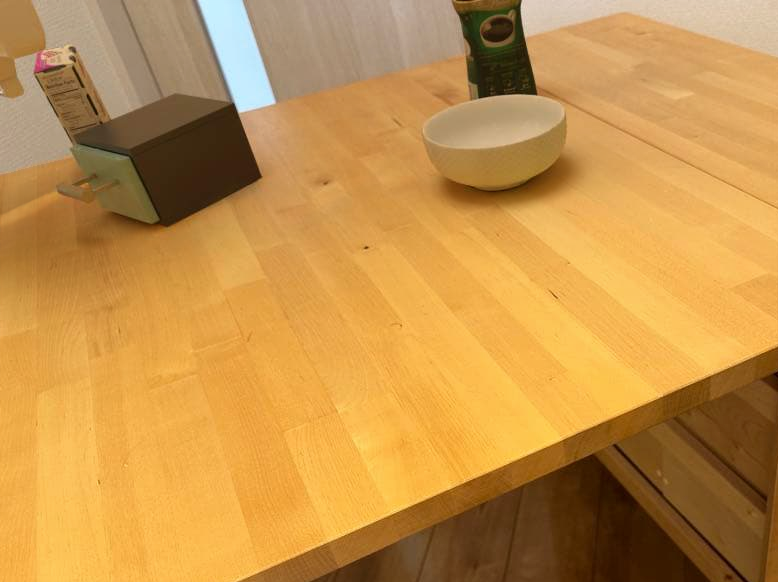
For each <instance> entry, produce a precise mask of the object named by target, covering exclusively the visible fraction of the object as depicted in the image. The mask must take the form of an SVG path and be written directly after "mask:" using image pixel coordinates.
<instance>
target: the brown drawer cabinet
mask: <svg viewBox="0 0 778 582" xmlns="http://www.w3.org/2000/svg"><path fill="white" fill-rule="evenodd" d="M237 109H238V108H237V106H236V103H235V102H232V101H226V100H219V99H213V98H208V97H202V96H196V95H195V96H194V95H188V94H183V93H173V94H169V95H168V96H165V97H163V98H159V99H158V100H155V101H153V102H151V103H148V104H147V105H146V104H145V105H143V106H141V107H139V108H136V109H134V110H131V111H129V112H127V113H124V114H122V115H119V116H117V117H114V118H111V120H109V121H107V122H104V123H102V124H100V125H97V126H95V127H92V128H90V129H87V130H85V131H83V132H80V133H78V134H75V135H73V137H74V139H75V141H76V143H77V144H79V145H83V146H87V147H91V148H95V149H96V148H100V149H104V150H108V151H112V152H116V153H121V154H125V155H129V157H130V159H131V161H132V163H133V165H134V167H135V169H136V171H137V173H138V176H139V178H140V180H141V182H142V184H143V186H144V188H145V190H146V192H147V194H148V196H149V198H150V200H151V202H152V204H153V206H154V209H155V211H156V213H157V215H158V217H159V219H160V220H159V221H157V222H155V223H154V225H155V224H156V225H159V226H161V227H165V228H168V227H171V226H173V225H174V224H176V223H178V222H180V221H181V220H183V219H186V218H187V217H189V216H191V215H193V214H195V213H197V212H199V211H201V210H202V209H205V208H206V207H208V206H210V205H212V204H214V203H216V202H218V201H219V200H221V199H223V198H225V197H227V196H229V195H231V194H234V193H236V192H237V191H239V190H241V189H243V188H245V187H246V186H248V185H250V184H252V183H254V182H256V181H258V180H260V179H262V178H263V177H262V173H261V170H260V168H259V164H258V162H257V159H256V157H255V154H254V152H253V149H252V146H251V144H250V141H249V138H248V136H247V133H246V130H245V127H244V126H243V125H244V124H243V123H242V122H243V121H242V119H241V117H240V115H239V112H238V110H237Z"/></svg>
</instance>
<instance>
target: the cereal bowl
mask: <svg viewBox="0 0 778 582" xmlns="http://www.w3.org/2000/svg"><path fill="white" fill-rule="evenodd" d="M567 121H568V120H567V113H566V110H565V107H564V105H562V103H560V102H559V101H557V100H555V99H553V98H549V97H547V96H543V95H542V96H541V95H537V96H536V95H503V96H494V97H487V98H481V99H476V100H472V101H471V100H468V101H464V102H461V103H458V104H454V105H452V106H449V107H447V108H444V109H443V110H440V111H439V112H437V113H435V114H433V115H432V116H431V117H429V118H428V119H427V120H426V121H425V122H424V124H423V126H422V128H421V129H422V130H421V131H422V132H421V133H422V140H423V144H424V148H425V152H426V154H427V156H428V159H429V162H431V164H432V165H433V167H434V168H435V169H436V170H437V172H439V173H440V175H442V176H444V177H445V178H446V179H449V180H450V181H453V182H455V183H457V184H462V185H466V186H472V187H473V188H475V189H478V190H481V191H502V190H504V191H505V190H509V189H513V188H516V187H519V186H521V185H523V184H525V183H527V182H529V181H530V180H531V179H532V178H534V177H536V176H537V175H539V174H541V173H543V172H544V171H546V170H547V169H549V168H550V167H552V165H553V164H554V163H555V162H556V161H557V160H558V159H559V157H560V156H561V154H562V152H563V150H564V148H565V145H566V141H567V133H568V129H567V128H568V123H567Z"/></svg>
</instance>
